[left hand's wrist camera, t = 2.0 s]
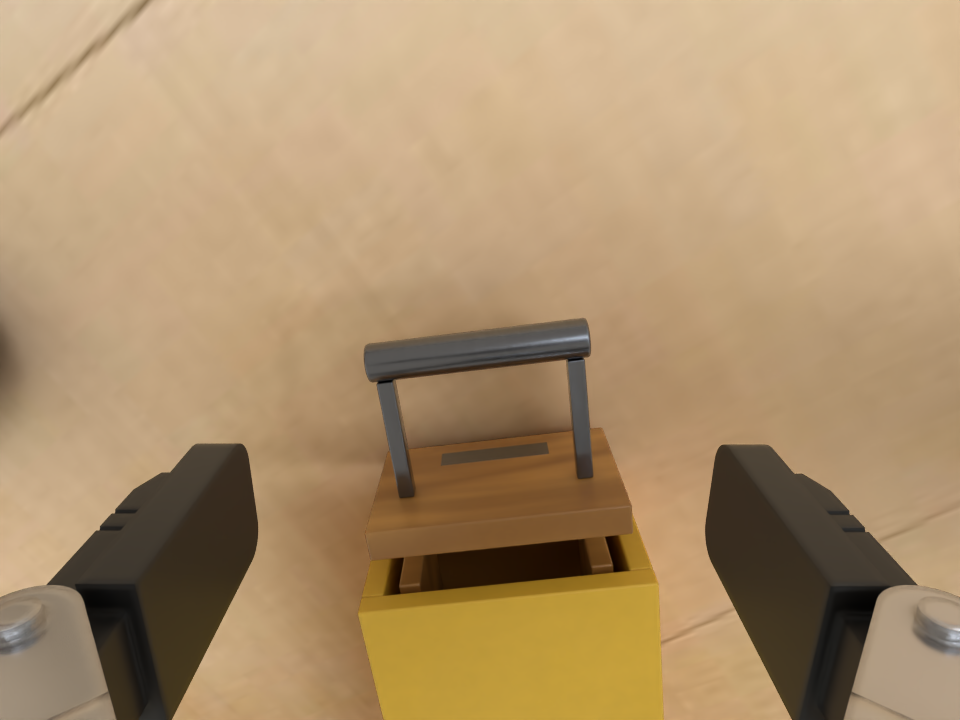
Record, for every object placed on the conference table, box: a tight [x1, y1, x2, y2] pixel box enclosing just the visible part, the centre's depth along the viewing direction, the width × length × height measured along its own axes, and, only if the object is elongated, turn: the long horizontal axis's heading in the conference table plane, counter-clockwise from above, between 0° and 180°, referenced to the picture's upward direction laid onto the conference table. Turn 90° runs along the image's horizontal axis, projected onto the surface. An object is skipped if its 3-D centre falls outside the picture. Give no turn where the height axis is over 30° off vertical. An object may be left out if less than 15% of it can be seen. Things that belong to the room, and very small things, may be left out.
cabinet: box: [358, 514, 664, 720], centre depth 29 cm, size 19×10×8 cm, turn 7°
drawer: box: [364, 318, 633, 594], centre depth 27 cm, size 24×9×6 cm, turn 7°
